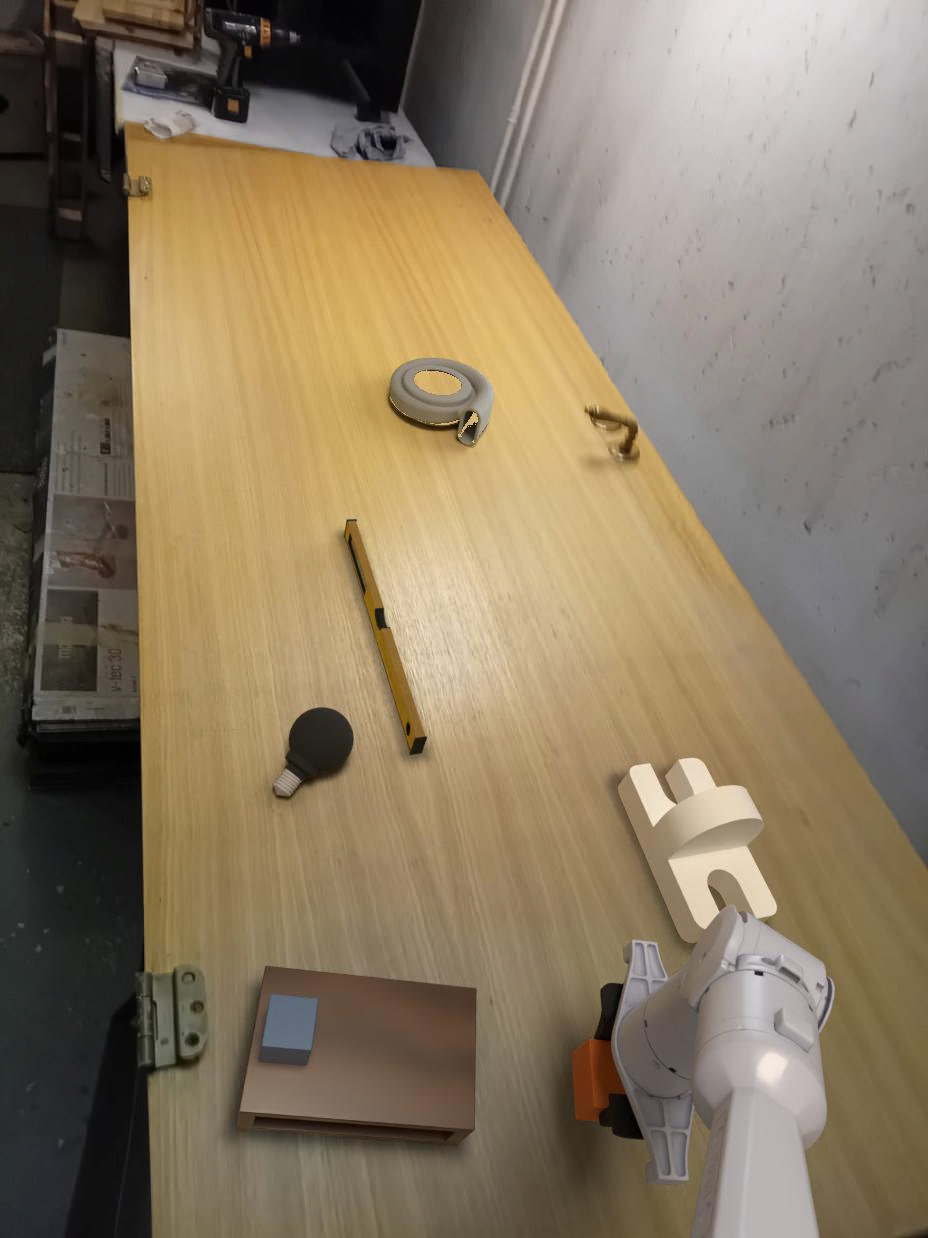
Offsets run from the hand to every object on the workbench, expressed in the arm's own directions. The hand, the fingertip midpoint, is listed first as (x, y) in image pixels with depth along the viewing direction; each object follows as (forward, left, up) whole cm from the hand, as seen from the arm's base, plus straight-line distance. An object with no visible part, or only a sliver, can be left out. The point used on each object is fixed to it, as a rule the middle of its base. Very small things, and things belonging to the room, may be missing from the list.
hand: (608, 1083), depth 61 cm
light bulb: (+29, +25, -9) cm, 40 cm away
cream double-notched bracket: (+25, -15, -9) cm, 30 cm away
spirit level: (+48, +20, -9) cm, 53 cm away
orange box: (0, 0, -2) cm, 2 cm away
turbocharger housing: (+97, +15, -9) cm, 99 cm away
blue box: (+2, +24, -3) cm, 24 cm away
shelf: (+2, +18, -9) cm, 20 cm away
